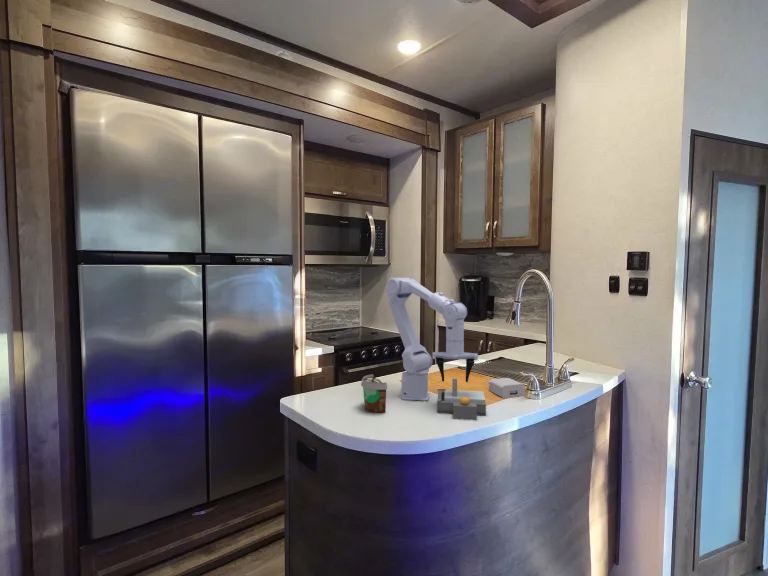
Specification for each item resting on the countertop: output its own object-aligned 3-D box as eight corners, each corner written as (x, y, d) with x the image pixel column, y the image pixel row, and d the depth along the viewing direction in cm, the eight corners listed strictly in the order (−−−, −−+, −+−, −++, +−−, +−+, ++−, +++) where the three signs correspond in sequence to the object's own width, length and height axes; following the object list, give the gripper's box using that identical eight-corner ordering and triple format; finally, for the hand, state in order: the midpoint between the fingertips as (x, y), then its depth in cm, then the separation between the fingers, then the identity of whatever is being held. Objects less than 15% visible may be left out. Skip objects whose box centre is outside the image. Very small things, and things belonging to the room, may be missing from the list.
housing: (436, 417, 121) (436, 404, 120) (438, 400, 136) (438, 389, 136) (487, 420, 118) (487, 407, 118) (482, 403, 134) (482, 391, 134)
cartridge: (444, 408, 126) (444, 383, 125) (444, 399, 134) (444, 376, 134) (485, 410, 123) (485, 385, 123) (483, 401, 132) (483, 378, 132)
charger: (501, 385, 156) (524, 396, 141) (480, 387, 153) (502, 399, 139) (501, 373, 156) (524, 383, 141) (480, 375, 153) (502, 385, 139)
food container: (355, 404, 133) (355, 375, 132) (372, 402, 135) (372, 373, 135) (369, 417, 121) (368, 385, 121) (387, 414, 124) (387, 382, 123)
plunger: (460, 404, 120) (460, 398, 120) (460, 401, 123) (460, 396, 122) (469, 404, 119) (469, 399, 119) (469, 401, 122) (469, 396, 122)
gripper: (432, 341, 126) (432, 383, 126) (478, 342, 123) (478, 385, 124) (433, 338, 133) (433, 377, 133) (476, 339, 130) (476, 379, 131)
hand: (454, 381), depth 129 cm, fingers open, 7 cm apart
